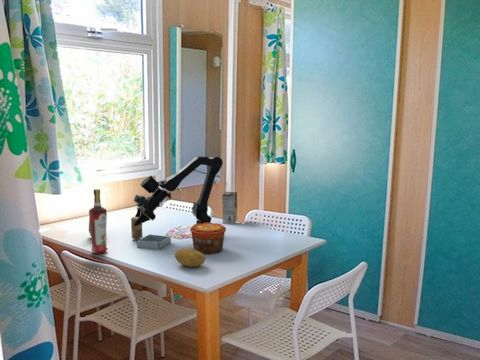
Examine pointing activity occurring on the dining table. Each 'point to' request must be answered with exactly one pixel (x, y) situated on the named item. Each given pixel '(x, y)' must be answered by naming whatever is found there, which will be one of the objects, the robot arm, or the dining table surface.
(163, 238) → the bin
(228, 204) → the coffee box
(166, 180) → the robot arm
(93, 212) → the liquor
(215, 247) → the food container
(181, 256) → the potato
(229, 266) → the dining table surface
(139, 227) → the walnut cylinder
